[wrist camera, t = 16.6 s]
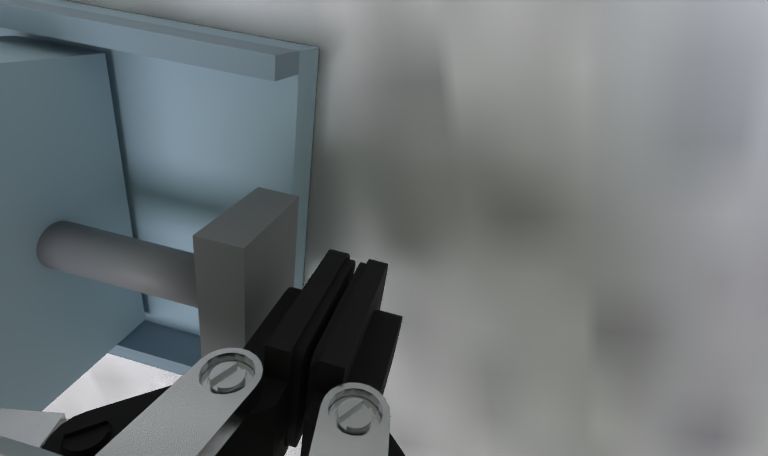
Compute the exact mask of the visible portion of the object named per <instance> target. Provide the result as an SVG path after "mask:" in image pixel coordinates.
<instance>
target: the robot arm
mask: <svg viewBox="0 0 768 456" xmlns="http://www.w3.org/2000/svg"><path fill="white" fill-rule="evenodd" d="M354 270H355V261H354V260H350V255H349V254H347V253H343V252H339V251H335V250H332V249H330V250H329V251H328V252H327V254H326V255H325V257H324V258H323V260H322V261H321V263H320V264H319V266H318V267H317V269H316V270H315V272H314V273H313V275H312V276H311V277H310V279H309V280H308V282H307V283H306V285H305V286H304V288H303V289H298V288H294V287H289V288H288V289H287V290H286V291H285V292H284V294H283V295H282V296H281V298H280V299H279V300H278V302H277V303H276V304H275V306H274V307H273V309H272V310H271V311H270V313H269V314H268V315H267V317H266V318H265V319H264V321H263V322H262V323H261V325H260V326H259V328H258V329H257V330H256V332H255V333H254V334H253V336H252V337H251V338H250V340H249V341H248V342H247V344H246V345H245V347H244V348H243V349H241V348H224V349H219V350H216V351H214V352H211V353H209V354H207V355H206V356H204V357H203V358H202V359H200V360H199V361H198V362H197V363H196V364H195V365H194V366H192V367H191V368H190V369H189V370H188V371H187V372H186V373H185V374H184V375H183V376H181V377H180V378H179V379H178V380H177V381H176V382H175V383H174V384H173V385H171V386H168V387H164V388H161V389H158V390H155V391H151V392H148V393H145V394H142V395H138V396H135V397H132V398H129V399H125V400H122V401H119V402H116V403H113V404H109V405H106V406H103V407H100V408H96V409H93V410H90V411H87V412H84V413H82V414H79V415H77V416H74V417H72V418H71V419H66V417H65V414H64V413H54V412H41V411H28V410H15V409H2V408H0V456H284V455H285V453H286V451H287V449H288V447H289V446H292V447H296V446H297V445H298V443H299V440H300V438H301V436H302V434H303V437H302V447H301V456H405V455H404V453H403V452H402V450H401V449H400V447H399V446H398V444H397V443H396V441H395V440H394V438H393V437H392V435H391V434H390V408H389V405H388V403H387V401H386V399H385V398H384V397H383V393H384V389H385V386H386V382H387V378H388V375H389V371H390V368H391V364H392V360H393V356H394V352H395V348H396V344H397V340H398V336H399V331H400V327H401V322H402V316H399V315H395V314H391V313H388V312H384V311H380V306H381V301H382V296H383V291H384V285H385V280H386V275H387V270H388V264H387V263H383V262H379V261H375V260H371V259H369V260H368V262H367V264H366V263H362V262H360V264H359V265H358V267H357V269H356V271H355V273H354Z"/></svg>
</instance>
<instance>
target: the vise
mask: <svg viewBox="0 0 768 456" xmlns="http://www.w3.org/2000/svg"><path fill="white" fill-rule="evenodd" d="M0 36H21V37H26V38H31V39H36V40H41V41H46V42H51V43H56V44H61V45H66V46H71V47H76V48H81V49H86V50H91V51H96V52H101V53H105V56H106V63H107V69H108V76H109V83H110V89H111V96H112V102H113V109H114V115H115V122H116V129H117V135H118V142H119V148H120V155H121V162H122V168H123V175H124V181H125V188H126V194H127V201H128V208H129V214H130V221H131V227H132V234H133V238H136V239H140V240H144V241H148V242H152V243H156V244H160V245H164V246H167V247H171V248H175V249H179V250H183V251H187V252H191V253H194V249H193V235H194V234H195V233H197V232H198V231H199V230H201V229H202V228H203V227H205V226H206V225H207V224H209V223H210V222H211V221H213V220H214V219H215V218H217V217H218V216H220V215H221V214H222V213H224V212H225V211H226V210H228V209H229V208H230V207H232V206H233V205H234V204H236V203H237V202H238V201H240V200H241V199H242V198H244V197H245V196H247V195H248V194H249V193H251V192H252V191H253V190H255V189H256V188H257V187H261V188H265V189H270V190H274V191H278V192H283V193H287V194H291V195H296V196H299V205H298V222H297V240H296V257H295V275H294V288H298V289H302V288H303V274H304V259H305V245H306V230H307V216H308V201H309V187H310V172H311V158H312V143H313V129H314V114H315V100H316V85H317V71H318V56H319V47H314V46H309V45H303V44H298V43H292V42H287V41H282V40H276V39H271V38H265V37H260V36H254V35H249V34H244V33H238V32H233V31H227V30H222V29H216V28H211V27H206V26H200V25H195V24H189V23H184V22H178V21H173V20H168V19H162V18H157V17H151V16H146V15H140V14H135V13H130V12H124V11H119V10H113V9H108V8H103V7H97V6H92V5H86V4H81V3H75V2H70V1H65V0H0ZM142 300H143V306H144V313H145V320H144V321H143V322H142V323H141V324H140V325H139V326H137V327H136V328H135V329H134V330H133V331H132V332H131V333H129V334H128V335H127V336H126V337H125V338H124V339H123V340H122V341H120V342H119V343H118V344H117V345H116V346H115V347H114V348H113V349H111V350H110V351H109V352H108V353H109V354H113V355H116V356H119V357H123V358H126V359H129V360H133V361H136V362H140V363H143V364H146V365H150V366H153V367H156V368H160V369H163V370H167V371H170V372H173V373H177V374H180V375H184V374H185V373H186V372H187V371H188V370H189V369H190V368H191V367H192V366H194V365H195V364H196V363H197V362H198V361H199V360H200V359H202V355H201V341H200V328H199V315H198V308H195V307H192V306H188V305H184V304H181V303H177V302H174V301H170V300H166V299H163V298H159V297H155V296H152V295H148V294H144V293H142Z"/></svg>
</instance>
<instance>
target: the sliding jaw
mask: <svg viewBox="0 0 768 456" xmlns="http://www.w3.org/2000/svg"><path fill="white" fill-rule="evenodd" d="M298 205H299V196H296V195H291V194H287V193H283V192H278V191H274V190H270V189H265V188H261V187H257V188H256V189H255V190H253V191H252V192H251V193H249V194H248V195H247V196H245V197H244V198H242V199H241V200H240V201H238V202H237V203H236V204H234V205H233V206H232V207H230V208H229V209H228V210H226V211H225V212H224V213H222V214H221V215H220V216H218V217H217V218H215V219H214V220H213V221H211V222H210V223H209V224H207V225H206V226H205V227H203V228H202V229H201V230H199V231H198V232H197V233H195V234H194V235H193V249H194V253H191V252H187V251H183V250H179V249H175V248H171V247H167V246H164V245H160V244H156V243H152V242H148V241H144V240H140V239H136V238H133V234H132V227H131V221H130V214H129V208H128V201H127V194H126V188H125V181H124V175H123V168H122V162H121V155H120V148H119V142H118V135H117V129H116V122H115V115H114V109H113V102H112V96H111V89H110V83H109V76H108V69H107V63H106V56H105V53H101V52H96V51H91V50H86V49H81V48H76V47H71V46H66V45H61V44H56V43H51V42H46V41H41V40H36V39H31V38H26V37H21V36H0V408H2V409H15V410H28V411H42V410H44V409H45V408H46V407H47V406H48V405H49V404H50V403H51V402H53V401H54V400H55V399H56V398H57V397H58V396H59V395H61V394H62V393H63V392H64V391H65V390H66V389H67V388H68V387H70V386H71V385H72V384H73V383H74V382H75V381H76V380H77V379H79V378H80V377H81V376H82V375H83V374H84V373H85V372H87V371H88V370H89V369H90V368H91V367H92V366H93V365H94V364H96V363H97V362H98V361H99V360H100V359H101V358H102V357H103V356H105V355H106V354H107V353H108V352H109V351H110V350H111V349H113V348H114V347H115V346H116V345H117V344H118V343H119V342H120V341H122V340H123V339H124V338H125V337H126V336H127V335H128V334H129V333H131V332H132V331H133V330H134V329H135V328H136V327H137V326H139V325H140V324H141V323H142V322H143V321H144V320H145V313H144V306H143V300H142V293H144V294H148V295H152V296H155V297H159V298H163V299H166V300H170V301H174V302H177V303H181V304H184V305H188V306H192V307H195V308H198V315H199V328H200V341H201V355H202V358H203V357H204V356H206V355H207V354H209V353H211V352H214V351H216V350H219V349H224V348H241V349H243V348H244V347H245V345H246V344H247V342H248V341H249V340H250V338H251V337H252V336H253V334H254V333H255V332H256V330H257V329H258V328H259V326H260V325H261V323H262V322H263V321H264V319H265V318H266V317H267V315H268V314H269V313H270V311H271V310H272V309H273V307H274V306H275V304H276V303H277V302H278V300H279V299H280V298H281V296H282V295H283V294H284V292H285V291H286V290H287V289H288V288H289V287H294V275H295V257H296V240H297V222H298Z"/></svg>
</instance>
